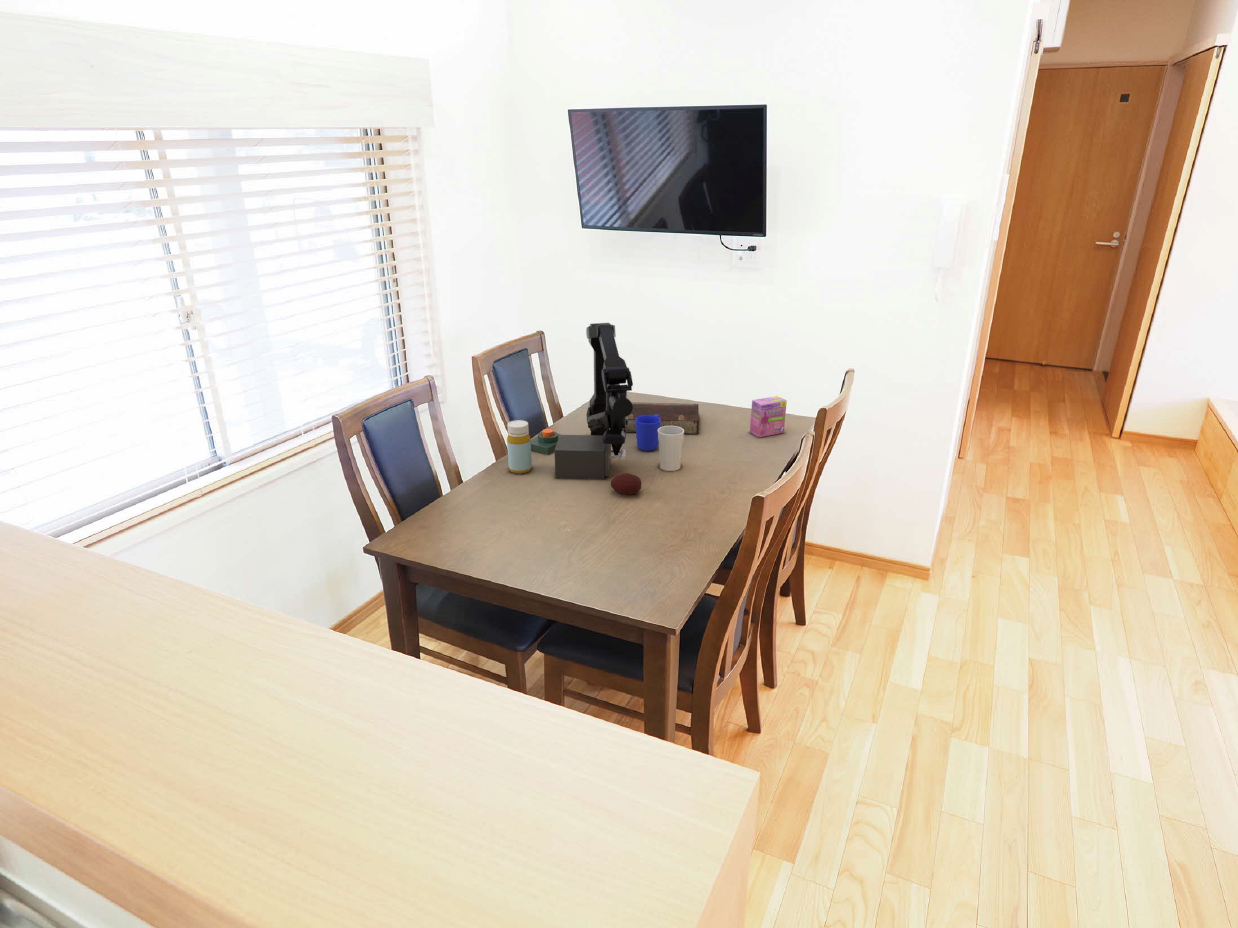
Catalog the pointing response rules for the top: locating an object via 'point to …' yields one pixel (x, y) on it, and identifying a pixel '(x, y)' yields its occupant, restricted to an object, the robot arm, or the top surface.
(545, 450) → the control block
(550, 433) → the button
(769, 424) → the box
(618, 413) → the robot arm
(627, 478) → the potato
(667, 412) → the book
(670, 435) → the cup
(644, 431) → the mug
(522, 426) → the bottle
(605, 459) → the drawer
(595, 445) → the dark grey lidded case
